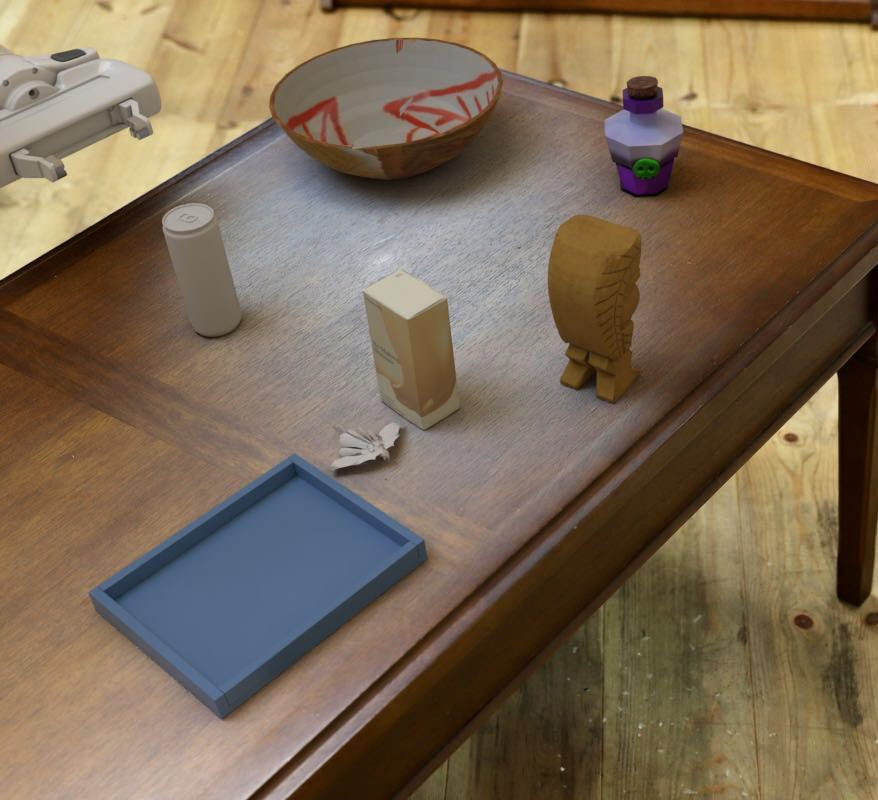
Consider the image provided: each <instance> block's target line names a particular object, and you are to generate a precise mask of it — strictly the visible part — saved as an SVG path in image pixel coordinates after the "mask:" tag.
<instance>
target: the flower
mask: <svg viewBox="0 0 878 800" xmlns="http://www.w3.org/2000/svg"><path fill="white" fill-rule="evenodd" d="M402 422H403V420H399V421H394V422H391V423H389V424H387V425H385V426H384V427H383V428H382V429H381V430H380V431H379V432H378V434H379V435H378V436H379V437H381V440H379V438H378V437H377V435H376V433H375V432H374V430H373V429H368V430H367V431H368V433H369V435H370V436H371V437H372V438H371V437H370V436H369V435H368V433H367V432H366V430H365V429H364V428H363V427H361V426H359V425H358V426H357V429H358V430H359V431H360V432H361V433H362V434H363V435H365V436H366V437H367V438H368V439H369V440H368V439H367V438H366V437H363V436H362V435H361V434H360V433H359V432H357V431H355V430H353V429H350V428H349V429H347V431H344V430H343V429H342V428H340V427H339V426H336V425H332V426H331V428H332V429H333V430H334V431H335V432H336V433H337V434H339V439H338V440H337V441H338V442H339V444H340V445H341V446H343V447H342V448H339V450H338V451H337V454H338V455H339V456H341V457H340V458H338V459H336V460H334V461H333V462H332V463H331V465H330V466H329V471H334V470H337V469H342V468H345V467H349V466H358V465H360V464H362V463H364V462H366V461H370V460H373V461H375V460H376V459H377V458H378V457H381V458H383V460H388V463H391V461H390V459H391V456H390V452H389V451H388V449H389V448H391V447H395V444H394V443H395V441H396V440H397V439H398V438H399V437H400V435H401V434H399V431H400V427H401V425H402Z"/></svg>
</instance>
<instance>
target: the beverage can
mask: <svg viewBox="0 0 878 800" xmlns="http://www.w3.org/2000/svg"><path fill="white" fill-rule="evenodd" d="M161 223H162V232H163V234H164V238H165V242H166V245H167V249H168V253H169V256H170V259H171V263H172V266H173V269H174V273H175V277H176V279H177V283H178V287H179V290H180V293H181V295H182V299H183V301H184V305H185V309H186V312H187V315H188V318H189V321H190V326H191V328H192V329H193V330H194V331H195V332H196V333H198V334H199V335H201V336H204V337H207V338H208V337H209V338H215V337H221V336H225V335H227V334H229V333H231V332H233V331H234V330H235V329H236V328H237V327H238V325H239V324H240V322H241V321H242V316H243V315H242V310H241V305H240V302H239V298H238V294H237V290H236V286H235V283H234V279H233V275H232V271H231V266H230V263H229V259H228V255H227V251H226V248H225V244H224V240H223V237H222V233H221V228H220V225H219V221H218V217H217V215H216V214H215V212H214V209H213V208H212V207H211V206H210V205H208V204H204V203H200V202H199V203H198V202H192V203H185V204H181V205H178V206H175V207H173V208H171V209H170V210H168V211H167V212H166V213H165V214H164V215H163V216H162V220H161Z"/></svg>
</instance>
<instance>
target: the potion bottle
mask: <svg viewBox="0 0 878 800" xmlns="http://www.w3.org/2000/svg"><path fill="white" fill-rule="evenodd" d="M658 85H659V81H658V78H657V77H655V76H651V75H638V76H634V77H631V78H630V79H628V80H627V81H626V87H625V88H623V89H622V90H621V91H622V108H623V109H622V110H620V111H618V112H616V113H615V114H612V115H611V116H609V117H607V118H605V119H604V135H605V136H604V137H605V140H606V143H607V148H608V150H609V155H610V158H611V161H612V163H614V164H615V166H616V167H615V168H616V169H617V173H618V177H619V187H620V191H621V192H624V193H625V194H628V195H631V196H632V197H634V198H645V197H647V198H648V197H649V198H650V197H657V196H659V195H661V194H662V193H664V192H666V191H667V190H669V189H670V188H671V185H670V181H671V177H672V172H673V168H674V164H675V158H677V157H678V156H679V151H680V148H681V143H682V139H683V135H684V129H683V121H682V116H681V115H678V114H677V113H673V112H671V111H669V110H667V109H664V91H663V88H662V87H660V86H658Z"/></svg>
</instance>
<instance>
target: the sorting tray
mask: <svg viewBox="0 0 878 800" xmlns="http://www.w3.org/2000/svg"><path fill="white" fill-rule="evenodd" d="M426 560H428V552H427V546H426V542H425V539H424V538H423V537H421V536H420V535H418V534H417V533H415V532H414V531H412V530H411V529H409V528H408V527H406V526H404V525H403V524H402V523H400V522H399V521H398V520H396V519H394V518H393V517H392V516H390V515H388V514H387V513H385V512H383V510H380V508H378V507H376V506H375V505H373V504H372V503H370V502H368V501H367V500H366V499H364V498H363V497H361V496H360V495H359V494H357V493H355V492H353V490H351V489H349V488H348V487H346V486H345V485H344V484H342V483H340V482H339V481H337V480H336V479H334V478H333V477H332V476H330V475H328V474H327V473H325V472H324V471H322V470H321V469H320V468H318V467H316V466H315V465H313V464H312V463H310V461H309V462H308V461H307V460H306V459H304V458H303V457H301V456H300V455H298V454H297V453H292V454H291V455H289V456H288V457H286V458H285V459H283V460H282V461H280V462H279V463H278V464H276V465H274V466H273V467H271V468H270V469H269V470H267V471H266V472H264V473H263V474H261V475H259V476H258V477H256V478H255V479H254V480H252V481H251V482H249V483H248V484H246V485H245V486H243V487H242V488H240V489H239V490H237V491H236V492H235V493H233V494H231V495H230V496H228V497H227V498H226V499H224V500H222V501H221V502H220V503H218V504H217V505H215V506H214V507H212V508H211V509H209V510H208V511H206V512H204V513H203V514H202V515H200V516H199V517H197V518H196V519H194V520H193V521H191V522H190V523H189V524H187V525H185V526H184V527H183V528H181V529H180V530H178V531H177V532H176V533H175V532H174V534H172V535H171V536H169V537H168V538H166V539H165V540H163V541H162V542H160V543H159V544H158V545H156V546H154V547H153V548H152V549H150V550H148V551H147V552H146V553H144V554H143V555H141V556H140V557H138V558H136V559H135V560H134V561H132V562H131V563H130V564H128V565H126V566H124V567H123V568H122V569H120V570H119V571H118V572H116V573H114V574H113V575H112V576H109V578H107V579H106V580H103V582H101V583H99V584H98V585H97V586H95V587H93V588H92V589H90V590H89V591H88V592H87V593H88V596H89V598H90V600H91V603H92V605H93V608H94V610H95V612H96V613H98V614H99V615H100V616H101V617H102V618H103V619H104V620H105V621H107V622H108V623H109V624H110V625H112V626H113V627H114V628H115V629H116V630H117V631H119V633H121V634H122V635H123V636H124V637H125V638H127V639H128V640H129V641H130V642H131V643H132V644H133V645H135V646H136V647H137V648H138V649H139V650H140V651H141V652H143V653H144V654H145V655H146V656H148V657H149V658H150V659H151V660H152V661H153V662H154V663H156V664H157V665H158V666H159V667H160V668H161V669H163V670H164V672H166V673H167V674H168V675H170V676H171V677H172V678H173V679H174V680H175V681H177V682H178V683H179V684H180V685H181V687H183V688H185V689H186V690H187V691H188V692H189V693H190V694H191V695H193V696H194V697H195V698H196V699H197V700H199V702H200V703H202V704H203V705H204V706H205V707H206V708H208V709H209V710H210V711H211V712H213V713H214V714H215V715H216V716H217V717H218V718H219V719H220V720H223V719H224V718H225V717H227V716H229V714H231V713H232V712H233V711H234V710H236V709H237V708H239V706H241V705H242V704H243V703H245V702H246V701H247V700H249V699H250V698H251V697H252V696H254V695H255V694H256V693H258V692H259V691H260V690H261V689H263V688H264V687H265V686H266V685H268V684H269V683H270V682H272V681H273V680H274V679H275V678H277V677H278V676H280V674H282V673H283V672H285V670H287V669H288V668H290V667H291V666H292V665H293V664H295V663H296V662H297V661H298V660H300V659H301V658H302V657H304V656H305V655H306V654H308V653H309V652H310V651H311V650H313V649H314V648H315V647H316V646H317V645H319V644H320V643H321V642H323V641H324V640H326V639H327V638H328V637H329V636H330V635H332V634H333V633H334V632H336V631H337V630H338V629H339V628H340V627H342V626H343V625H344V624H346V623H347V622H348V621H350V620H351V619H352V618H353V617H355V616H356V615H357V614H359V612H361V611H362V610H363V609H365V608H366V607H367V606H368V605H371V603H372V602H374V601H375V600H376V599H378V598H379V597H380V596H381V595H383V594H384V593H385V592H387V591H388V590H389V589H390V588H391V587H393V586H394V585H395V584H397V583H398V582H399V581H401V580H403V578H404V577H406V576H407V575H408V574H410V573H411V572H412V571H413V570H415V569H416V568H417V567H418V566H420V565H421V564H422V563H423V562H425V561H426Z"/></svg>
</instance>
